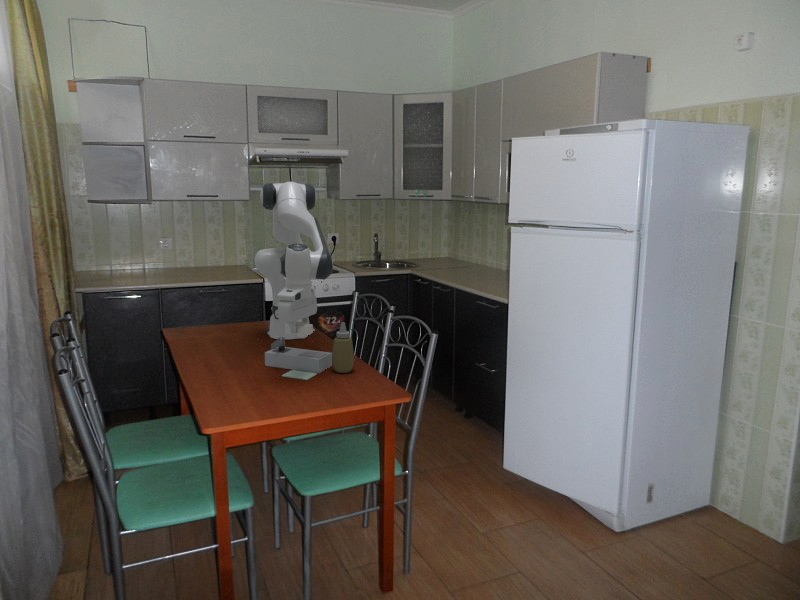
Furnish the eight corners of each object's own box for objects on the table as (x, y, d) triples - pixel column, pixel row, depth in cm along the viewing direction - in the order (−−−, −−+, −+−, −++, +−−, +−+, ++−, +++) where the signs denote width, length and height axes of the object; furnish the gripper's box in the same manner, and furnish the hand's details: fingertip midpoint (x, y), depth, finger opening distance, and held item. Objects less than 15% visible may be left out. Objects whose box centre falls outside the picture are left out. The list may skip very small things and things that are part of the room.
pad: (292, 370, 219) (292, 369, 219) (316, 374, 215) (316, 373, 215) (281, 376, 212) (281, 375, 212) (306, 380, 209) (306, 378, 209)
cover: (292, 330, 215) (292, 320, 214) (312, 332, 212) (312, 322, 211) (285, 333, 210) (285, 323, 209) (305, 335, 207) (305, 325, 206)
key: (285, 348, 228) (285, 337, 227) (276, 355, 218) (275, 343, 217) (279, 348, 228) (279, 337, 227) (269, 355, 219) (269, 343, 218)
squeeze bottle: (354, 374, 216) (354, 324, 213) (331, 374, 215) (331, 324, 212) (354, 367, 224) (354, 319, 221) (332, 367, 223) (332, 319, 220)
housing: (279, 358, 234) (279, 345, 233) (332, 365, 226) (332, 352, 225) (265, 365, 224) (264, 351, 223) (319, 373, 216) (318, 358, 215)
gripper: (305, 286, 219) (306, 324, 221) (274, 295, 200) (275, 336, 203) (321, 288, 217) (321, 326, 219) (290, 297, 198) (291, 338, 200)
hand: (298, 331), depth 211 cm, fingers closed on cover, 5 cm apart
